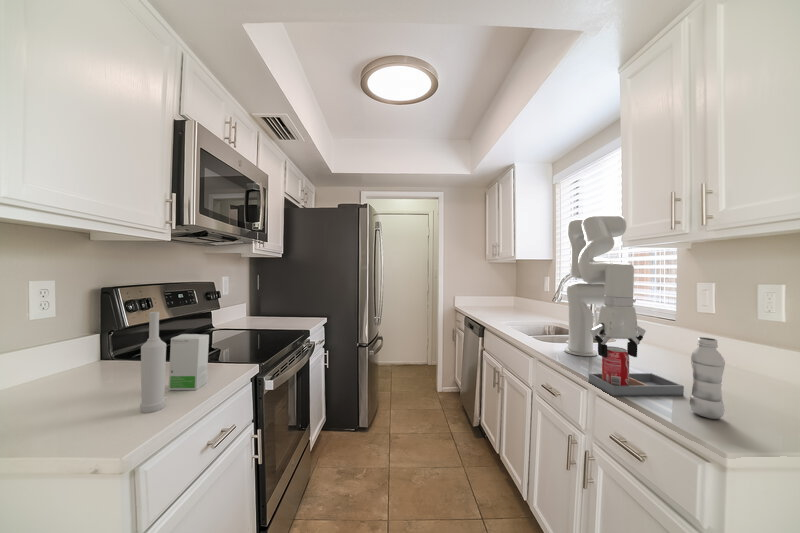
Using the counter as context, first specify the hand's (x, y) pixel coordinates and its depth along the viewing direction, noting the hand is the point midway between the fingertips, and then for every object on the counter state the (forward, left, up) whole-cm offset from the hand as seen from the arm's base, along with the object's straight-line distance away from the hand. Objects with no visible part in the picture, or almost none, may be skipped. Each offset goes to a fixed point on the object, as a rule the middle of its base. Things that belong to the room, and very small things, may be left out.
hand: (617, 356), depth 98 cm
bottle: (+10, -133, -10) cm, 134 cm away
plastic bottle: (+19, +10, -11) cm, 23 cm away
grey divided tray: (0, +5, -10) cm, 11 cm away
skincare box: (-5, -133, -11) cm, 134 cm away
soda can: (0, -1, -10) cm, 10 cm away
